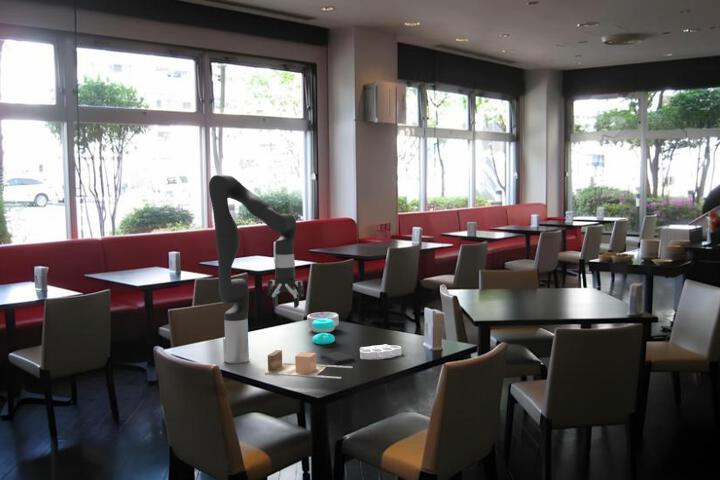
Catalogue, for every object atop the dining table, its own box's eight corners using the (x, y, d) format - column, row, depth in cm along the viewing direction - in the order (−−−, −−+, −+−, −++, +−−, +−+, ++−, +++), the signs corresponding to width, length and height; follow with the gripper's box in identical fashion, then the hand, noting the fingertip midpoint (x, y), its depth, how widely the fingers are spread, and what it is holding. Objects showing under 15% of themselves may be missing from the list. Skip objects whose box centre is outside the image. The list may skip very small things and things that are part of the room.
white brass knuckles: (391, 349, 280) (407, 357, 267) (352, 354, 273) (366, 363, 259) (391, 341, 280) (406, 349, 266) (352, 346, 272) (366, 354, 259)
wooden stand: (265, 375, 243) (264, 356, 243) (278, 366, 255) (277, 348, 254) (315, 378, 238) (315, 359, 237) (326, 369, 249) (326, 351, 249)
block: (295, 372, 243) (295, 356, 242) (301, 367, 249) (301, 352, 248) (310, 373, 241) (310, 357, 241) (316, 368, 247) (316, 353, 247)
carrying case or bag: (360, 364, 257) (340, 357, 269) (360, 357, 257) (340, 349, 269) (337, 369, 251) (318, 361, 263) (337, 361, 251) (318, 353, 263)
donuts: (313, 318, 298) (335, 318, 298) (313, 339, 299) (335, 339, 299) (311, 322, 288) (333, 322, 288) (311, 345, 289) (334, 344, 289)
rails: (268, 377, 241) (268, 373, 241) (284, 366, 256) (284, 362, 256) (340, 382, 233) (340, 377, 233) (352, 370, 248) (352, 366, 248)
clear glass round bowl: (321, 336, 306) (320, 319, 306) (301, 331, 318) (300, 315, 317) (345, 330, 317) (345, 314, 316) (325, 326, 328) (325, 310, 327)
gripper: (263, 266, 252) (265, 308, 253) (298, 267, 247) (299, 309, 249) (272, 264, 259) (273, 304, 260) (305, 264, 254) (306, 306, 256)
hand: (285, 307), depth 254 cm, fingers open, 8 cm apart
